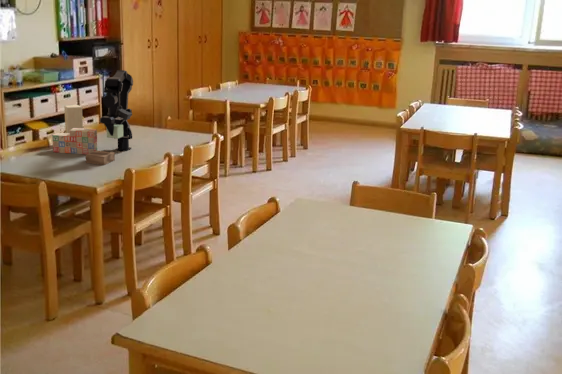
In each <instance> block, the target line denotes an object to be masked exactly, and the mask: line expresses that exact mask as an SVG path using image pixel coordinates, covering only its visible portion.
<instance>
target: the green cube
mask: <svg viewBox="0 0 562 374" xmlns="http://www.w3.org/2000/svg"><path fill="white" fill-rule="evenodd" d="M120 137H123V125H121V124H115V125H114V132H113V136H111V135H110V133H109V131H108V129H107V128H106V138H111V139H114V138H117V139H116V140H118V138H120Z"/></svg>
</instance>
